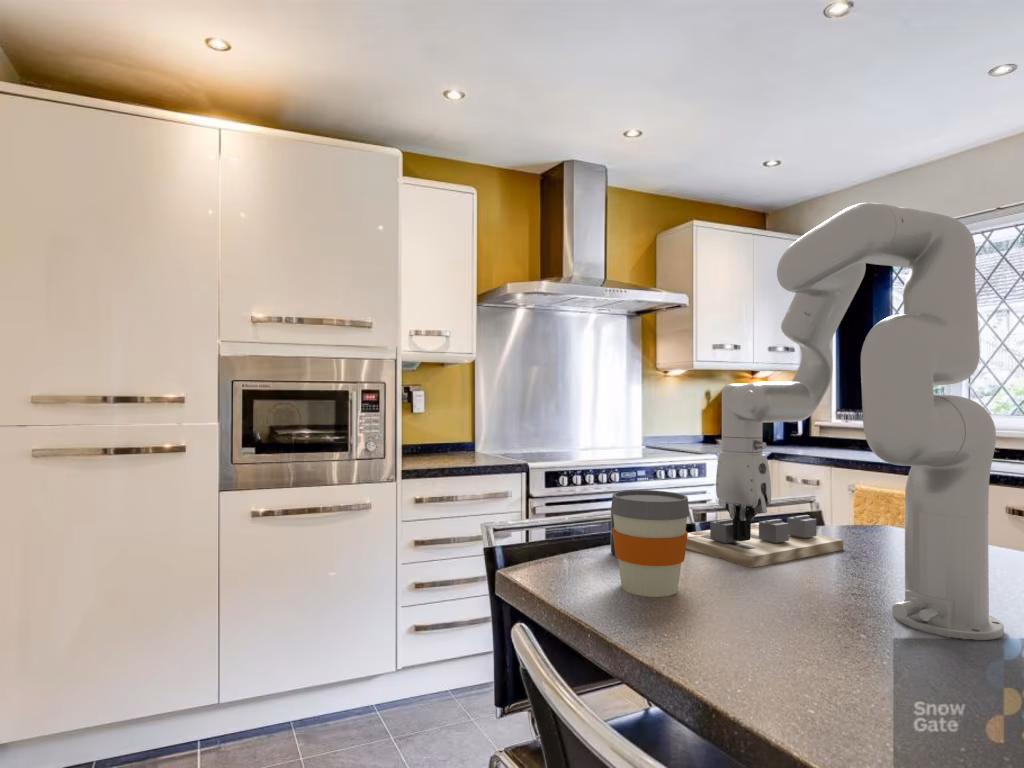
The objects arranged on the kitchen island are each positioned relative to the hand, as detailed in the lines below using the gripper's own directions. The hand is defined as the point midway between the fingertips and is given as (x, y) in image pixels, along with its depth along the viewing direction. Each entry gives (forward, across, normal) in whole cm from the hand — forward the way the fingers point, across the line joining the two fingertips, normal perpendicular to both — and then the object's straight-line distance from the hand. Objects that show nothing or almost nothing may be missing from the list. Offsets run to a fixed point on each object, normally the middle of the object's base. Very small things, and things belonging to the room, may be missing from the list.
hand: (741, 539), depth 122 cm
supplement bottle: (+4, +12, +19) cm, 22 cm away
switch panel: (+3, +4, -9) cm, 10 cm away
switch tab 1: (+1, +4, 0) cm, 4 cm away
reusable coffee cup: (+3, -6, +30) cm, 31 cm away
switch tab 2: (+1, 0, -9) cm, 9 cm away
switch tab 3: (+1, 0, -18) cm, 18 cm away
